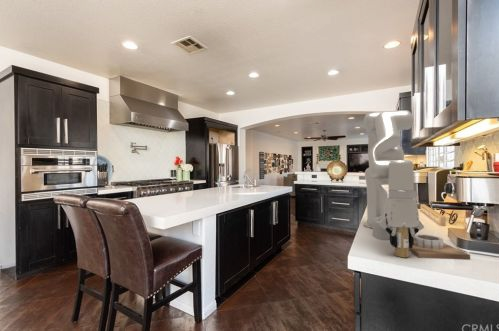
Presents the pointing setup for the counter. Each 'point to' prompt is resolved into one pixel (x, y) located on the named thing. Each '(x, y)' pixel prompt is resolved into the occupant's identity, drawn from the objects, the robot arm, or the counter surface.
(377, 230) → the lumpy-topped squat cylinder
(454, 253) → the walnut board
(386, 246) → the counter surface
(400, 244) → the sprinkles bottle
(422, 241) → the socket ring
